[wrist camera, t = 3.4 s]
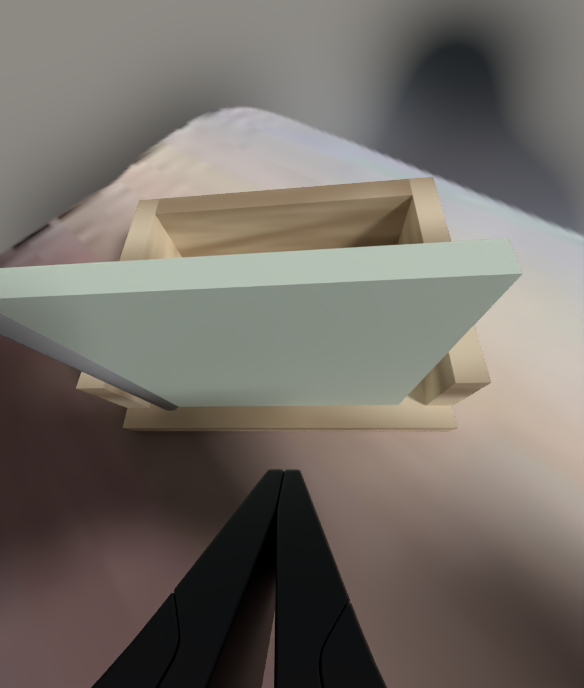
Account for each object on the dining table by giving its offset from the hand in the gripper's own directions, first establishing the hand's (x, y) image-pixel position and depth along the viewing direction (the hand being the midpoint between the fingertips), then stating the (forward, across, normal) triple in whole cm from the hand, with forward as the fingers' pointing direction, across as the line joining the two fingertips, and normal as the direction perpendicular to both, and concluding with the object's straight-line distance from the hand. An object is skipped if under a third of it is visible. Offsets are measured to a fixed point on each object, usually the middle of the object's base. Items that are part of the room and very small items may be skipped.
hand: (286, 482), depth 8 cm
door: (+6, +1, +1) cm, 7 cm away
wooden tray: (+11, +1, -1) cm, 11 cm away
